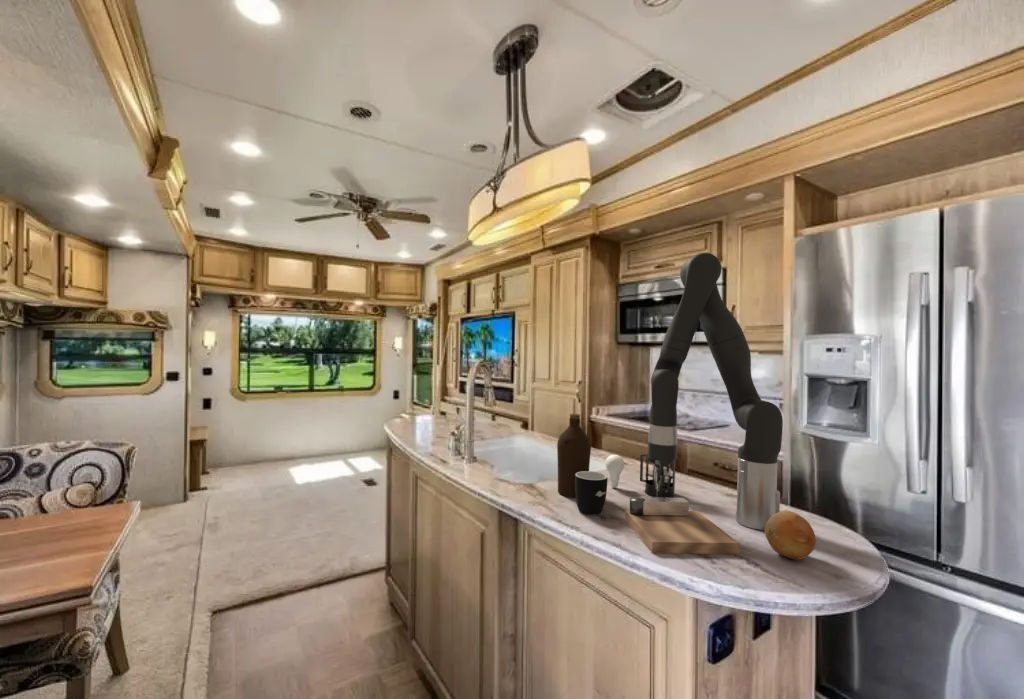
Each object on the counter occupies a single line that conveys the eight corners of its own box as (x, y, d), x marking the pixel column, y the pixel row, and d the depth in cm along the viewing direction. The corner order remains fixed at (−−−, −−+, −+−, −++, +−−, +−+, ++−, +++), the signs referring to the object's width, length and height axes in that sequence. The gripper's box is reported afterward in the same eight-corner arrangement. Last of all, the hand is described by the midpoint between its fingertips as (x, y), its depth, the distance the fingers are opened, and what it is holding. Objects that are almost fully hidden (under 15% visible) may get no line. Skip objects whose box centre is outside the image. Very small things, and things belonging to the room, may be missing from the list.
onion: (754, 550, 102) (755, 507, 102) (782, 544, 106) (783, 502, 106) (795, 570, 93) (797, 522, 93) (825, 562, 97) (826, 517, 97)
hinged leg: (632, 515, 114) (632, 501, 114) (627, 509, 118) (627, 496, 118) (688, 515, 115) (689, 502, 115) (682, 510, 119) (682, 497, 119)
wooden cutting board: (697, 520, 120) (697, 511, 120) (738, 554, 100) (739, 542, 100) (624, 519, 119) (625, 510, 119) (651, 553, 99) (652, 542, 99)
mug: (596, 519, 118) (597, 481, 118) (568, 511, 124) (569, 475, 124) (617, 508, 127) (618, 473, 127) (590, 501, 133) (591, 467, 133)
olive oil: (590, 499, 134) (593, 417, 134) (555, 497, 135) (558, 415, 135) (588, 488, 145) (590, 412, 145) (555, 487, 146) (558, 411, 146)
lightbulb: (609, 484, 151) (610, 451, 151) (626, 487, 147) (627, 454, 147) (601, 487, 146) (602, 454, 146) (618, 492, 143) (619, 457, 143)
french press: (681, 493, 143) (683, 422, 143) (671, 501, 135) (673, 426, 135) (645, 486, 150) (647, 418, 150) (634, 492, 142) (637, 421, 142)
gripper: (683, 447, 115) (681, 513, 114) (671, 437, 128) (669, 497, 127) (653, 445, 115) (651, 511, 115) (644, 436, 129) (642, 495, 128)
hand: (660, 504), depth 121 cm, fingers closed
